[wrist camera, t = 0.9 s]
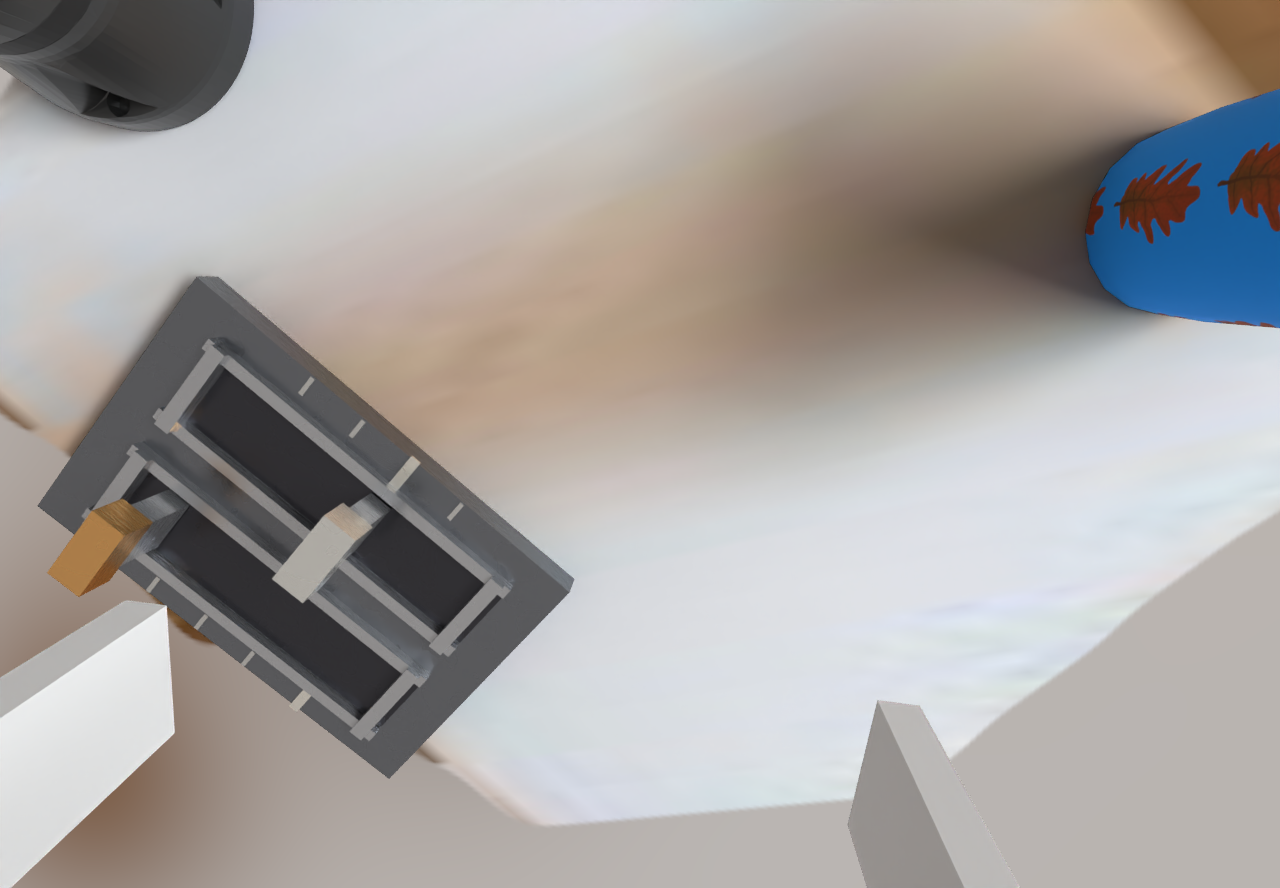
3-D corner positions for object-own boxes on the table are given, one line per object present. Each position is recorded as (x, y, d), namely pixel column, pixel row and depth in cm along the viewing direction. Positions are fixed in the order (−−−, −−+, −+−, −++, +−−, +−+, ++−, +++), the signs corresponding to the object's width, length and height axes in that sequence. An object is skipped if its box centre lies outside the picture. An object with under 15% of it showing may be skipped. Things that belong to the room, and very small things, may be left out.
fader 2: (326, 538, 45) (271, 578, 39) (373, 483, 44) (324, 515, 38) (353, 560, 46) (302, 603, 40) (400, 505, 44) (355, 541, 38)
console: (62, 498, 48) (19, 513, 45) (219, 274, 44) (184, 274, 41) (398, 761, 52) (380, 792, 48) (576, 577, 47) (568, 598, 44)
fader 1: (130, 534, 46) (47, 572, 40) (171, 479, 45) (91, 510, 39) (157, 555, 46) (78, 597, 40) (198, 501, 45) (124, 535, 39)
